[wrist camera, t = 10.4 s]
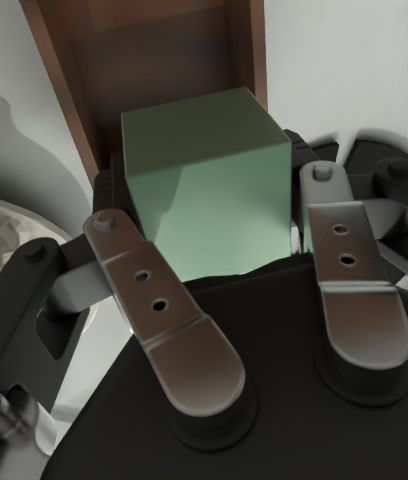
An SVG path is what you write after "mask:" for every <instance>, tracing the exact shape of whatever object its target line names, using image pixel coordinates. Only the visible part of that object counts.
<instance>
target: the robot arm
mask: <svg viewBox="0 0 408 480" xmlns="http://www.w3.org/2000/svg"><path fill="white" fill-rule="evenodd" d="M283 131H284V132H285V134H286V135H287V136H288V137H289V138H290V139H291V142H292V156H291V227H294V226H297V227H298V244H299V253H300V254H297V255H293V256H289V257H285V258H280V259H276V260H274V261H272V262H270V263H268V264H266V265H264V266H261V267H259V268H257V269H255V270H253V271H251V272H249V273H246V274H242V275H223V276H206V277H202V278H197V279H193V280H189V281H185V282H181V280H180V279H179V278H178V276H177V275H176V273H175V272H174V271H173V269H172V268H171V266H170V265H169V264H168V262H167V261H166V259H165V258H164V257H163V255H162V254H161V252H160V251H159V250H158V248H157V247H156V245H155V244H154V243H153V242H152V241H151V240H149V241H147V242H146V240H145V239H144V236H143V232H142V229H141V226H140V223H139V220H138V217H137V214H136V210H135V207H134V204H133V201H132V198H131V195H130V192H129V188H128V185H127V182H126V179H125V165H124V151H123V152H118V153H114V154H111V168H109V169H104V170H100V171H99V173H98V174H97V176H96V177H95V178H94V191H93V194H94V196H93V213H92V215H91V216H90V217H88V218H87V219H86V221H85V222H84V224H83V231H84V233H83V234H81V235H80V236H78V237H77V238H75V239H73V240H71V241H69V242H66V243H64V244H62V245H60V246H59V244H58V242H57V241H56V240H55V239H54V238H51V237H40V238H35V239H32V240H30V241H28V242H26V243H24V244H22V245H21V246H20V247H18V248H17V249H16V250H15V251H14V253H13V254H12V255H11V257H10V258H9V260H8V261H7V263H6V264H5V266H4V267H3V269H2V270H1V272H0V480H408V290H405V289H403V288H401V287H398V286H396V285H394V284H392V283H390V282H389V280H388V277H387V274H386V271H385V268H384V265H383V261H382V258H381V256H382V257H384V258H385V259H387V260H388V261H389V262H391V263H392V264H393V265H395V266H396V267H398V268H399V269H400V270H402V271H403V272H405V273H406V274H407V275H408V159H406V158H397V157H394V158H386V159H383V160H380V161H378V162H377V163H376V164H375V165H374V167H373V174H358V175H350V174H346V171H345V169H344V167H343V166H341V165H340V164H338V163H335V162H331V161H322V160H321V159H320V158H319V157H318V156H317V155H316V153H315V152H314V151H313V150H312V149H311V148H310V147H309V146H308V144H307V143H306V142H304V140H303V139H302V138H301V137H300V136H299V134H297V133H295V132H293V131H290V130H288V129H285V130H283ZM111 295H112V296H113V298H114V300H115V302H116V304H117V306H118V308H119V310H120V313H121V315H122V317H123V319H124V321H125V323H126V325H127V327H128V329H129V331H130V333H131V335H132V336H131V337H130V339H129V340H128V342H127V343H126V345H125V346H124V348H123V349H122V351H121V352H120V354H119V355H118V357H117V358H116V360H115V361H114V363H113V364H112V366H111V367H110V369H109V370H108V371H107V373H106V374H105V376H104V377H103V379H102V380H101V382H100V383H99V385H98V386H97V388H96V389H95V391H94V392H93V394H92V395H91V397H90V398H89V400H88V401H87V403H86V404H85V406H84V407H83V409H82V410H81V412H80V413H79V415H78V416H77V417H76V419H75V420H74V422H73V423H72V425H71V427H70V428H69V429H68V431H67V433H66V434H65V436H64V437H63V438H62V440H61V442H60V443H59V444H58V446H57V447H56V449H55V450H54V445H55V441H56V436H57V427H56V423H55V421H54V419H53V418H52V417H51V416H50V413H51V410H52V408H53V405H54V403H55V400H56V397H57V395H58V392H59V390H60V387H61V385H62V382H63V380H64V377H65V374H66V372H67V369H68V367H69V364H70V362H71V359H72V356H73V354H74V351H75V349H76V346H77V344H78V341H79V338H80V336H81V333H82V331H83V328H84V326H85V323H86V321H87V318H88V315H89V313H90V306H92V305H94V304H96V303H98V302H100V301H101V300H103V299H105V298H107V297H109V296H111ZM38 314H39V315H38Z"/></svg>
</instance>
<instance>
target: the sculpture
mask: <svg viewBox="0 0 408 480" xmlns="http://www.w3.org/2000/svg"><path fill="white" fill-rule="evenodd" d="M40 237H51V238H54V239H55V240H56V241H57V242H58V244H59V246H60V245H62V244H64V243H66V242H69V241H71V240H73V238H72V237H71V236H70V235H68V234H67V233H66V232H65V231H64V230H62V229H61V228H59V227H58V226H56V225H55V224H53V223H51V222H50V221H48V220H46V219H45V218H43V217H41V216H40V215H38V214H36V213H34V212H31V211H29V210H27V209H25V208H22V207H19V206H17V205H14V204H11V203H9V202H6V201H3V200H0V272H1V270H2V269H3V267H4V266H5V264H6V263H7V261H8V260H9V258H10V257H11V255H12V254H13V253H14V251H15V250H16V249H17V248H18V247H20V246H21V245H22V244H24V243H26V242H28V241H30V240H32V239H35V238H40ZM98 304H99V302H98V303H96V304H94V305H92V306H90V313H89V315H88V318H87V321H86V323H85V326H84V328H83V331H82V333H81V335H82V334H83V333H84V332H85V330H86V329H87V328H88V326H89V325H90V323H91V321H92V320H93V318H94V316H95V315H96V311H97V308H98ZM38 315H39V314H38Z"/></svg>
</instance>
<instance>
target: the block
mask: <svg viewBox="0 0 408 480" xmlns="http://www.w3.org/2000/svg"><path fill="white" fill-rule="evenodd" d="M121 124H122V137H123V151H124V165H125V179H126V182H127V185H128V188H129V192H130V195H131V198H132V201H133V204H134V207H135V210H136V214H137V217H138V220H139V223H140V226H141V229H142V232H143V236H144V239H145V240H146V242H147V241H149V240H151V241H152V242H153V243H154V244H155V245H156V247H157V248H158V250H159V251H160V252H161V254H162V255H163V257H164V258H165V259H166V261H167V262H168V264H169V265H170V266H171V268H172V269H173V271H174V272H175V273H176V275H177V276H178V278H179V279H180V280H181V282H185V281H189V280H193V279H197V278H202V277H206V276H223V275H235V274H239V273H243V272H247V271H251V270H255V269H257V268H259V267H261V266H264V265H266V264H268V263H270V262H272V261H274V260H276V259H280V258H285V257H289V256H291V156H292V142H291V139H290V138H289V137H288V136H287V135H286V134H285V132H284V131H283V130H282V129H281V128H280V126H279V125H278V124H277V123H276V122H275V120H274V119H273V118H272V117H271V116H270V114H269V113H268V112H267V111H266V110H265V108H264V107H263V106H262V105H261V104H260V102H259V101H258V100H257V99H256V98H255V97H254V95H253V94H252V93H251V92H250V91H249V89H248V88H247V87H240V88H235V89H231V90H226V91H221V92H217V93H212V94H207V95H203V96H198V97H193V98H189V99H184V100H179V101H175V102H170V103H165V104H161V105H156V106H151V107H147V108H142V109H137V110H133V111H128V112H123V113H122V114H121Z"/></svg>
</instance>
